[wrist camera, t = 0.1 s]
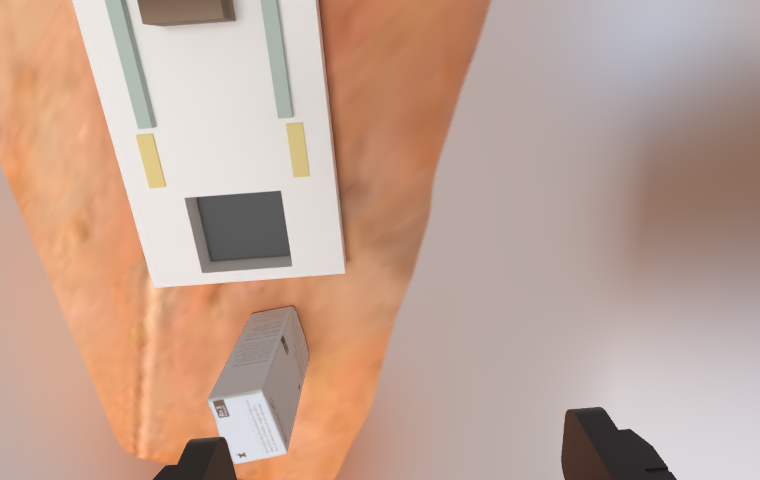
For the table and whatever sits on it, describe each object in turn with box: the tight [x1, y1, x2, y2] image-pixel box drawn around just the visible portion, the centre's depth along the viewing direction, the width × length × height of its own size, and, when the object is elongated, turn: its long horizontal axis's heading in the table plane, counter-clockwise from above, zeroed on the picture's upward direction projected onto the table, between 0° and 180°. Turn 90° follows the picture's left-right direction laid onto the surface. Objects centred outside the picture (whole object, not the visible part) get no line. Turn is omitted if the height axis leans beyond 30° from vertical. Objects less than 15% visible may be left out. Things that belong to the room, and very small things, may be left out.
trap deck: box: [72, 0, 346, 288], centre depth 35 cm, size 26×16×3 cm, turn 4°
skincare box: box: [207, 306, 309, 464], centre depth 38 cm, size 6×4×12 cm
